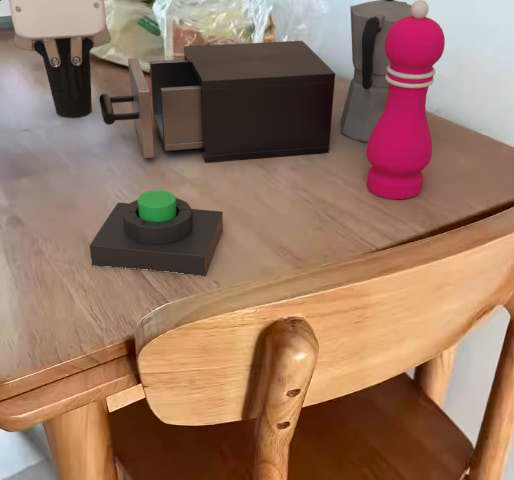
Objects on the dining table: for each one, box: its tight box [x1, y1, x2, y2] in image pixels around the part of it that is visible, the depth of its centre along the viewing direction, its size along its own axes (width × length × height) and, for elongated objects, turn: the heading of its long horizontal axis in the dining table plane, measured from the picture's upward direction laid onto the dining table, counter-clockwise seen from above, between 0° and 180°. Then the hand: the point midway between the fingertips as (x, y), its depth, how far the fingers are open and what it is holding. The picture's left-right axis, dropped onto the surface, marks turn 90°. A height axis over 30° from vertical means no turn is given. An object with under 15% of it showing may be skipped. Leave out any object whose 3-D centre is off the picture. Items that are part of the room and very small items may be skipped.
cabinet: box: [183, 40, 336, 164], centre depth 92 cm, size 16×14×10 cm
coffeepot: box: [339, 0, 412, 144], centre depth 91 cm, size 15×9×18 cm, turn 158°
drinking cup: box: [42, 38, 93, 118], centre depth 95 cm, size 8×8×20 cm
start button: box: [137, 189, 177, 222], centre depth 70 cm, size 4×4×2 cm
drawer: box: [98, 57, 203, 159], centre depth 90 cm, size 19×13×8 cm
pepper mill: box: [365, 0, 446, 200], centre depth 78 cm, size 7×7×20 cm
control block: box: [89, 197, 224, 277], centre depth 71 cm, size 11×9×4 cm
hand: (71, 97), depth 87 cm, fingers closed
